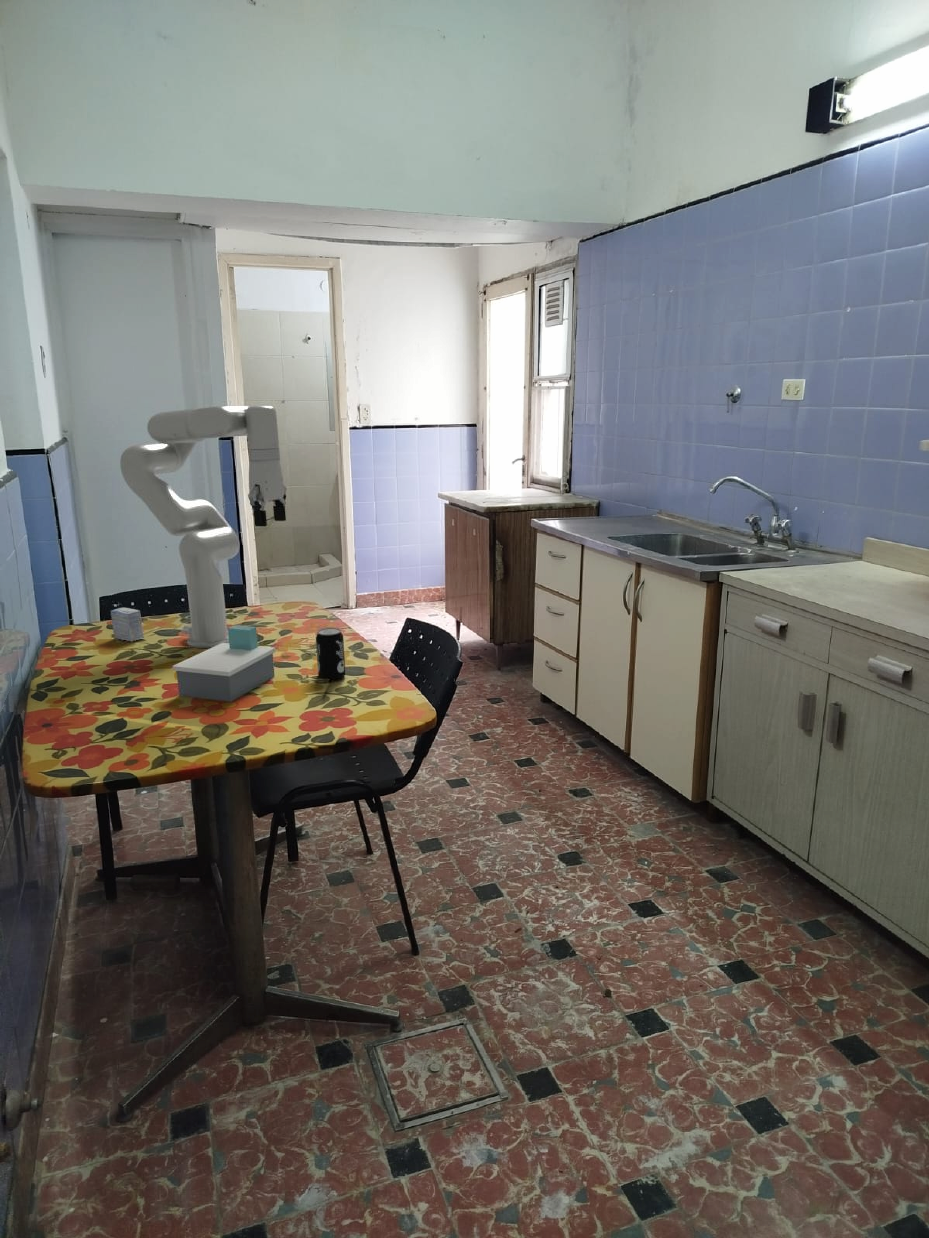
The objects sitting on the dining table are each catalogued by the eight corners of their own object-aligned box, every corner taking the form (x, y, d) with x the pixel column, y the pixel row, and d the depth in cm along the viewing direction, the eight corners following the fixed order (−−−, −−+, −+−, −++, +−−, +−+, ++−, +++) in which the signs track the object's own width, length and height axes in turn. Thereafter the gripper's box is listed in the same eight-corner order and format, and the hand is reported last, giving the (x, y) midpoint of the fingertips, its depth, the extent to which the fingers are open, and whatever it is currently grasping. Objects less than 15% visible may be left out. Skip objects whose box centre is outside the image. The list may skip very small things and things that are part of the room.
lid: (173, 674, 186) (170, 644, 184) (223, 650, 203) (220, 623, 201) (229, 680, 181) (226, 650, 179) (275, 655, 198) (273, 627, 197)
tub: (179, 698, 188) (176, 669, 186) (225, 674, 204) (223, 647, 202) (231, 705, 183) (228, 675, 181) (274, 679, 200) (272, 652, 198)
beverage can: (333, 684, 196) (330, 636, 193) (312, 679, 199) (309, 632, 196) (351, 676, 201) (348, 629, 198) (330, 672, 204) (327, 625, 201)
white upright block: (144, 639, 236) (140, 610, 234) (131, 643, 232) (127, 613, 230) (127, 635, 240) (123, 606, 238) (113, 639, 236) (109, 610, 234)
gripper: (269, 454, 216) (274, 518, 221) (233, 458, 200) (239, 528, 205) (294, 453, 214) (299, 519, 218) (260, 458, 198) (266, 528, 202)
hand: (270, 523), depth 212 cm, fingers open, 9 cm apart
